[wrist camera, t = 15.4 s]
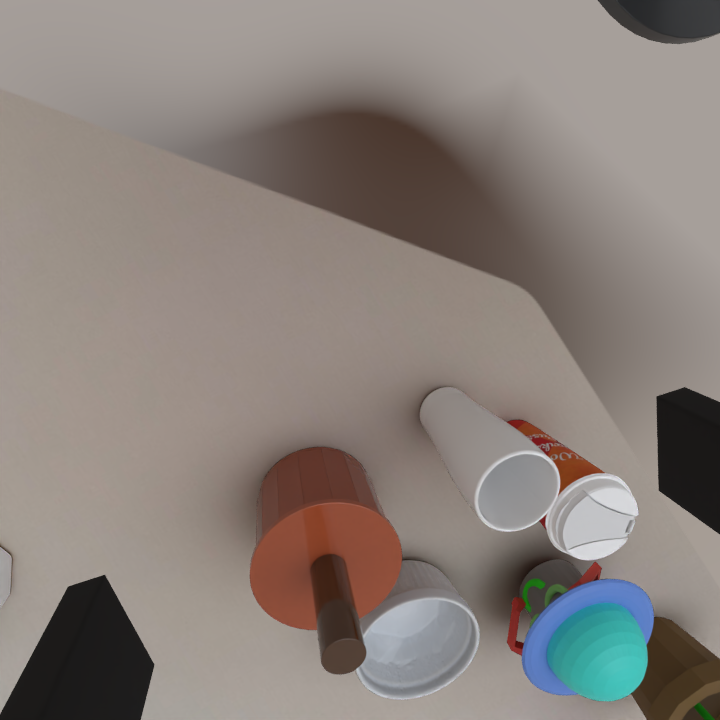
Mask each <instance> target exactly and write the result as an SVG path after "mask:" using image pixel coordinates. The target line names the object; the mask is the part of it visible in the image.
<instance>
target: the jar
mask: <svg viewBox="0 0 720 720" xmlns="http://www.w3.org/2000/svg"><path fill="white" fill-rule="evenodd" d="M323 499H349V500H354V501H358V502H361V503H364V504H366V505H369V506H370V507H372V508H374V509H376V510H377V511H379V512H380V513H381V514H383V515H384V512H383V510H382V507H381V505H380V502H379V500H378V497H377V495H376V492H375V490H374V487H373V485H372V482H371V480H370V478H369V477H368V475H367V473H366V471H365V469H364V468H363V467H362V465H361V464H360V463H359V462H358V461H357V460H356V459H355V458H353V457H352V456H351V455H349V454H347V453H345V452H343V451H340V450H337V449H333V448H327V447H313V448H307V449H302V450H299V451H297V452H294V453H292V454H290V455H288V456H286V457H285V458H283V459H282V460H280V461H279V462H278V463H277V464H275V465H274V466H273V467H272V469H271V470H270V471H269V472H268V474H267V475H266V476H265V478H264V480H263V482H262V484H261V487H260V491H259V496H258V500H257V523H256V545H257V543H258V541H259V539H260V538H261V536H262V535H263V534H264V532H265V531H266V530H267V529H268V528H269V527H270V525H271V524H272V523H274V522H275V521H276V520H277V519H278V518H280V517H281V516H282V515H284V514H285V513H287V512H288V511H290V510H292V509H294V508H296V507H298V506H301V505H304V504H306V503H309V502H313V501H317V500H323ZM384 516H385V515H384Z"/></svg>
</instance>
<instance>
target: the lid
mask: <svg viewBox="0 0 720 720" xmlns="http://www.w3.org/2000/svg"><path fill="white" fill-rule="evenodd" d="M401 564H402V549H401V544H400V541H399V538H398V535H397V533H396V531H395V529H394V527H393V526H392V524H391V523H390V522H389V520H388V519H387V518H386V517H385V516H384V515H383V514H381V513H380V512H379V511H377V510H376V509H374V508H372V507H370V506H369V505H366V504H364V503H361V502H358V501H354V500H349V499H323V500H317V501H313V502H309V503H306V504H304V505H301V506H298V507H296V508H294V509H292V510H290V511H288V512H287V513H285V514H284V515H282V516H281V517H280V518H278V519H277V520H276V521H275V522H274V523H272V524H271V525H270V527H269V528H268V529H267V530H266V531H265V532H264V534H263V535H262V536H261V538H260V539H259V541H258V543H257V545H256V547H255V549H254V552H253V555H252V558H251V563H250V583H251V588H252V591H253V594H254V596H255V598H256V600H257V602H258V603H259V605H260V606H261V607H262V609H263V610H264V611H265V612H266V613H267V614H269V615H270V616H271V617H273V618H274V619H275V620H277V621H279V622H281V623H283V624H286V625H288V626H291V627H295V628H299V629H306V630H317V633H318V641H319V649H320V657H321V663H322V666H323V667H324V669H325V670H326V671H328V672H330V673H332V674H347V673H350V672H352V671H354V670H356V669H357V668H358V667H360V666H361V665H362V663H363V662H364V660H365V658H366V653H367V651H366V646H365V642H364V637H363V633H362V629H361V625H360V620H359V619H360V618H362V617H364V616H365V615H367V614H368V613H370V612H371V611H373V610H374V609H375V608H376V607H377V606H379V605H380V604H381V603H382V602H383V601H384V600H385V598H386V597H387V596H388V595H389V593H390V592H391V590H392V589H393V587H394V585H395V583H396V581H397V579H398V577H399V573H400V570H401Z"/></svg>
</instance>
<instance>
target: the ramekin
mask: <svg viewBox="0 0 720 720" xmlns="http://www.w3.org/2000/svg"><path fill="white" fill-rule="evenodd" d="M359 620H360V625H361V629H362V633H363V637H364V642H365V646H366V651H367V653H366V658H365V660H364V662H363V663H362V665H361V666H360V667H358V668H357V669H356V673H357V676H358V678H359V680H360V681H361V683H362V684H363V685H364V686H365V687H366V688H367V689H368V690H369V691H371V692H372V693H374V694H376V695H378V696H381V697H384V698H388V699H395V700H406V699H413V698H418V697H422V696H426V695H429V694H431V693H434V692H436V691H438V690H440V689H442V688H443V687H445V686H447V685H448V684H450V683H451V682H453V681H454V680H455V679H456V678H457V677H459V676H460V675H461V674H462V673H463V672H464V670H465V669H466V668H467V667H468V666H469V664H470V663H471V661H472V660H473V658H474V656H475V654H476V651H477V649H478V645H479V639H480V630H479V625H478V622H477V620H476V618H475V615H474V613H473V611H472V609H471V608H470V606H469V605H468V604H467V602H466V601H465V600H464V599H462V598H461V596H460V595H459V593H458V592H457V591H456V589H455V588H454V586H453V585H452V584H451V582H450V581H449V579H448V578H447V577H446V576H445V575H444V574H443V573H442V572H441V571H440V570H439V569H437V568H436V567H434V566H432V565H430V564H428V563H425V562H421V561H414V560H404V561H402V564H401V570H400V573H399V577H398V579H397V581H396V583H395V585H394V587H393V589H392V590H391V592H390V593H389V595H388V596H387V597H386V598H385V600H384V601H383V602H382V603H381V604H380V605H379V606H377V607H376V608H375V609H374V610H373V611H371V612H370V613H368V614H367V615H365V616H364V617H362V618H360V619H359Z"/></svg>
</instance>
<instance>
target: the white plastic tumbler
mask: <svg viewBox="0 0 720 720" xmlns="http://www.w3.org/2000/svg"><path fill="white" fill-rule="evenodd" d="M420 421H421V424H422V426H423V428H424V429H425V431H426V432H427V433H428V435H429V437H430V438H431V440H432V442H433V444H434V446H435V448H436V450H437V452H438V453H439V455H440V457H441V459H442V461H443V463H444V465H445V467H446V469H447V471H448V473H449V474H450V476H451V478H452V480H453V482H454V484H455V485H456V487H457V489H458V490H459V492H460V493H461V495H462V496H463V498H464V499H465V501H466V502H467V503H468V505H469V506H470V507H471V508H472V510H473V511H474V512H475V513H476V515H477V516H478V517H479V518H480V520H481V521H482V522H483V523H484V524H485V525H487V526H488V527H490V528H492V529H494V530H497V531H503V532H513V531H519V530H522V529H525V528H527V527H530V526H532V525H533V524H535V523H537V522H538V521H539V520H541V519H542V518H543V517H544V516H545V515H546V514H547V513H548V512H549V511H550V509H551V508H552V506H553V505H554V503H555V501H556V499H557V497H558V494H559V489H560V475H559V471H558V469H557V467H556V465H555V463H554V462H553V461H552V460H551V459H550V458H549V457H548V456H547V455H546V454H545V453H544V452H543V451H542V450H541V449H540V448H539V447H538V446H537V445H536V444H535V443H534V442H532V441H531V440H530V439H529V438H528V437H527V436H525V435H524V434H523V433H521V432H520V431H519V430H517V429H516V428H514V427H513V426H512V425H510V424H509V423H507V422H505V421H504V420H502V419H501V418H499V417H498V416H496V415H495V414H493V413H492V412H490V411H489V410H487V409H486V408H484V407H483V406H481V405H480V404H478V403H477V402H475V401H474V400H472V399H471V398H469V397H468V396H467V395H466V394H465V393H464V392H462V391H461V390H459V389H457V388H453V387H443V388H439V389H437V390H435V391H433V392H431V393H430V394H429V395H428V396H427V397H426V398H425V400H424V401H423V403H422V405H421V408H420Z"/></svg>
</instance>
